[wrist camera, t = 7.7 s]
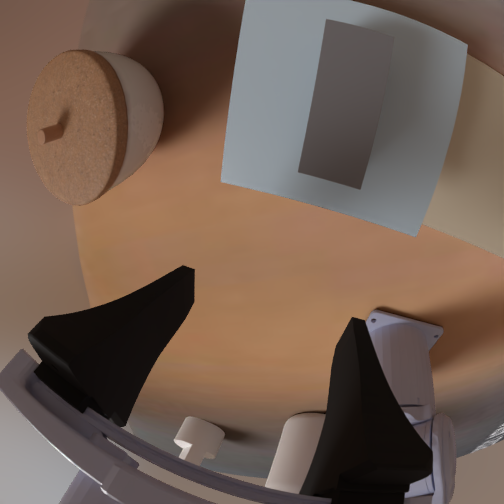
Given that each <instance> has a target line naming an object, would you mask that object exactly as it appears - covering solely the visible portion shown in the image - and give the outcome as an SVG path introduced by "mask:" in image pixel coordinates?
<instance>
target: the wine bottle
mask: <svg viewBox="0 0 504 504" xmlns="http://www.w3.org/2000/svg"><path fill="white" fill-rule="evenodd" d="M325 416H326V414H321V413H302V414H297V415H294V416H292V417H290V418H289V419H288V420H287V422H286V423H285V425H284V429H283V432H282V435H281V439H280V442H279V445H278V448H277V452H276V455H275V458H274V461H273V464H272V467H271V470H270V473H269V476H268V479H267V482H266V485H265V487H267V488H271V489H276V490H280V491H285V492H290V493H295V494H299V492H300V490H301V487H302V485H303V483H304V481H305V478H306V476H307V473H308V471H309V468H310V465H311V463H312V460H313V457H314V454H315V451H316V448H317V445H318V442H319V438H320V435H321V431H322V428H323V424H324V420H325Z"/></svg>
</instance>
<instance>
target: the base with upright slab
mask: <svg viewBox="0 0 504 504" xmlns="http://www.w3.org/2000/svg"><path fill="white" fill-rule="evenodd" d="M224 436H225V433H224V431H223V430H221V429H220V428H219V427H217V426H216V425H214V424H212V423H210V422H207V421H205V420H202V419H199V418H196V417H186V418H185V420H184V422H183V424H182V426H181V428H180V430H179V432H178V433H177V435H176V437H175V439H174V442H175V443H176V444H177V445H178V446H180V447H181V448H183V450H182V452H181V454H180V456H179V458H181V459H183V460H185V461H188V462H190V463H193V464H195V465H198V466H200V464H201V462H202V460H203V458H209V459H214V458H215V457H216V455H217V452H218V450H219V448H220V445H221V443H222V441H223V439H224Z"/></svg>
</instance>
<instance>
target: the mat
mask: <svg viewBox="0 0 504 504" xmlns="http://www.w3.org/2000/svg"><path fill="white" fill-rule="evenodd" d="M422 225H425V226H428V227H430V228H433V229H436V230H438V231H441V232H443V233H446V234H448V235H451V236H453V237H456V238H458V239H461V240H463V241H465V242H468V243H470V244H472V245H475V246H477V247H479V248H482V249H484V250H486V251H488V252H491V253H493V254H495V255H497V256H499V257H501V258H504V76H503V75H501V74H500V73H498V72H497V71H495V70H493V69H492V68H490V67H489V66H487V65H486V64H484V63H482V62H481V61H479V60H477V59H476V58H474V57H472V56H470V55H468V54H467V57H466V65H465V73H464V79H463V85H462V91H461V96H460V102H459V106H458V111H457V116H456V120H455V124H454V128H453V132H452V136H451V140H450V143H449V147H448V151H447V154H446V157H445V161H444V164H443V167H442V170H441V173H440V176H439V179H438V182H437V185H436V188H435V191H434V193H433V196H432V199H431V202H430V204H429V207H428V209H427V212H426V214H425V217H424V219H423V222H422Z"/></svg>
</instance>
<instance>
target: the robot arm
mask: <svg viewBox="0 0 504 504" xmlns="http://www.w3.org/2000/svg"><path fill="white" fill-rule="evenodd" d="M194 281H195V269H192V268H189V267H186V266H181V267H179V268H177V269H175V270H174V271H172V272H170V273H168V274H166V275H165V276H163V277H161V278H159V279H158V280H156V281H154V282H152V283H150V284H149V285H147V286H145V287H143V288H141V289H139V290H137V291H135V292H133V293H131V294H129V295H126V296H124V297H122V298H120V299H117V300H114V301H112V302H109V303H107V304H104V305H100V306H97V307H94V308H91V309H87V310H83V311H79V312H75V313H69V314H64V315H56V316H48V317H44V318H43V319H42V320H41V321H40V322H39V323H38V324H37V325H36V326H35V327H34V328H33V329H32V330H31V331H30V332H29V333H28V339H29V341H30V343H31V345H32V346H33V348H34V349H35V351H36V352H37V354H38V355H39V357H40V358H41V360H42V362H41V363H40V364H38V363H37V362H36V361H35V360H34V359H33V358H32V357H31V356H30V355H29V354H28V353H27V352H26V351H25V350H24V349H21V350H20V351H19V352H18V353H17V354H16V355H15V356H14V358H13V359H12V360H11V361H10V362H9V363H8V364H7V366H6V367H5V368H4V369H3V370H2V372H1V373H0V390H1V391H2V392H3V393H4V395H5V396H6V397H7V398H8V399H9V401H10V402H11V403H12V404H13V405H14V406H15V408H16V409H17V410H18V411H19V412H20V413H21V414H22V416H23V417H24V418H25V419H26V420H27V421H28V422H29V423H30V424H31V425H32V426H33V427H34V428H35V429H36V430H37V432H38V433H40V434H41V436H43V437H44V438H45V439H46V440H47V441H48V442H49V443H50V444H51V445H52V446H53V447H54V448H55V449H56V450H57V451H59V452H60V453H61V454H62V455H63V456H64V457H65V458H67V459H68V460H69V461H70V462H71V463H73V464H74V465H75V466H76V467H78V468H79V469H80V471H79V472H78V474H77V475H76V477H75V479H74V480H73V482H72V483H71V485H70V487H69V488H68V490H67V491H66V493H65V495H64V496H63V498H62V500H61V501H60V503H59V504H216V503H213V502H210V501H207V500H205V499H202V498H199V497H197V496H194V495H192V494H189V493H187V492H184V491H182V490H180V489H177V488H175V487H172V486H170V485H168V484H166V483H164V482H162V481H160V480H157V479H155V478H153V477H151V476H149V475H147V474H145V473H143V472H141V471H139V470H137V468H138V466H139V463H138V462H136V461H135V460H133V459H132V458H131V457H129V456H128V455H127V453H126V452H125V451H123V450H122V449H120V448H119V447H117V446H116V445H114V444H113V443H111V442H109V441H108V440H107V438H109V439H110V440H112V441H114V442H115V443H117V444H119V445H120V446H122V447H124V448H125V449H127V450H129V451H131V452H132V453H134V454H136V455H138V456H140V457H142V458H144V459H145V460H147V461H149V462H151V463H153V464H155V465H157V466H159V467H161V468H163V469H166V470H168V471H170V472H172V473H174V474H177V475H179V476H181V477H184V478H186V479H188V480H191V481H193V482H196V483H198V484H201V485H204V486H206V487H209V488H212V489H215V490H218V491H221V492H224V493H227V494H230V495H233V496H237V497H240V498H244V499H247V500H251V501H255V502H259V503H264V504H449V502H450V501H451V499H452V496H453V493H454V487H455V473H456V443H455V434H454V428H453V424H452V421H451V418H450V417H448V416H446V415H445V414H444V413H439V414H437V415H436V410H435V397H434V387H433V378H432V371H431V364H430V357H429V350H430V349H431V348H432V347H433V345H434V344H435V343H436V342H437V340H438V339H439V338H440V336H441V335H442V334H443V332H444V331H443V328H442V327H440V326H436V325H432V324H429V323H425V322H421V321H417V320H413V319H410V318H406V317H402V316H399V315H395V314H391V313H387V312H384V311H380V310H374V311H372V312H371V313H370V315H369V317H368V319H367V320H366V322H365V320H362V319H358V318H354V317H352V318H351V320H350V322H349V323H348V325H347V327H346V329H345V331H344V333H343V334H342V336H341V338H340V340H339V342H338V343H337V345H336V348H335V353H334V357H333V362H332V367H331V377H330V386H329V395H328V403H327V410H326V416H325V420H324V424H323V428H322V431H321V435H320V438H319V442H318V445H317V448H316V451H315V454H314V457H313V460H312V463H311V465H310V468H309V471H308V473H307V476H306V478H305V481H304V483H303V485H302V487H301V490H300V492H299V494H295V493H290V492H285V491H280V490H276V489H271V488H267V487H263V486H259V485H255V484H252V483H248V482H244V481H241V480H238V479H234V478H231V477H228V476H225V475H222V474H219V473H216V472H214V471H211V470H208V469H205V468H203V467H200V466H198V465H195V464H193V463H190V462H188V461H185V460H183V459H181V458H179V457H176V456H174V455H172V454H170V453H168V452H165V451H163V450H161V449H159V448H157V447H155V446H153V445H151V444H149V443H147V442H145V441H143V440H142V439H140V438H138V437H136V436H134V435H132V434H131V433H129V432H127V431H125V430H124V429H122V428H120V427H124V426H126V423H127V421H128V418H129V416H130V413H131V411H132V408H133V406H134V404H135V402H136V399H137V397H138V395H139V393H140V391H141V389H142V387H143V385H144V383H145V381H146V379H147V377H148V375H149V373H150V371H151V369H152V367H153V365H154V364H155V362H156V360H157V358H158V357H159V355H160V354H161V352H162V351H163V349H164V348H165V347H166V345H167V344H168V343H169V341H170V340H171V338H172V337H173V336H174V334H175V333H176V331H177V330H178V329H179V327H180V326H181V324H182V323H183V322H184V320H185V319H186V317H187V315H188V313H189V311H190V309H191V307H192V305H193V303H194ZM372 319H375V320H372Z"/></svg>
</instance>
